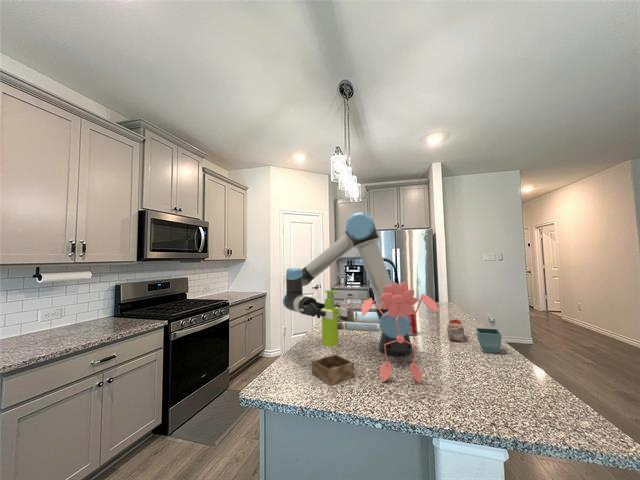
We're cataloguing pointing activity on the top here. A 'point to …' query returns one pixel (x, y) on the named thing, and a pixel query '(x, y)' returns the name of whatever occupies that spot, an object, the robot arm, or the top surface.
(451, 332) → the food item
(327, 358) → the walnut caddy
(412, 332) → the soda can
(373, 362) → the top surface
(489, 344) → the flower pot
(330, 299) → the soap dispenser
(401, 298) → the figurine
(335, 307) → the robot arm
